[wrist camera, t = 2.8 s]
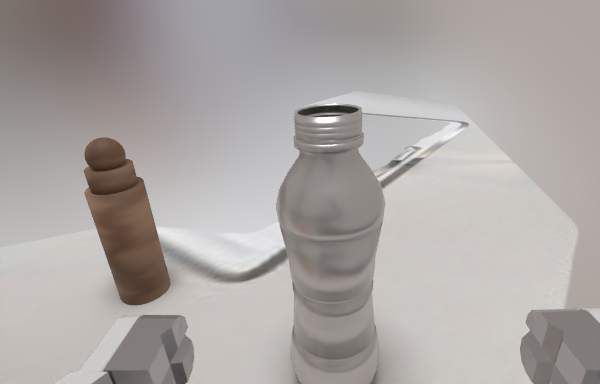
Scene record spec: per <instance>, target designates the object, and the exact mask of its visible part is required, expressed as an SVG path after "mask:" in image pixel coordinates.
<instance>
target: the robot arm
mask: <svg viewBox="0 0 600 384" xmlns="http://www.w3.org/2000/svg"><path fill="white" fill-rule="evenodd" d="M526 324H527V326H528V327H529V329H530V330H531V331H530V332H528V333H527V334H526V335H525V336H524V337H523V338H522V341H521V346H520V352H521V359H522V363H523V366H524V368H525V371H526V373H527V375H528V376H529V378H530V380H531V381H532V383H534V384H600V308H587V309H586V308H584V309H551V310H532V311H531V312H530V313H529V314H528V316H527V320H526ZM187 328H188V326H187V323H186V320H185V317H183V316H180V315H143V316H137V315H124V316H122V317H120V318H119V319H118V320H117V321H116V322H115V323H114V325H113V326H112V327H111V329H110V330H109V332H108V333H107V334H106V336H105V337H104V338H103V340H102V341H101V342H100V344H99V345H98V346H97V348H96V349H95V350H94V352H93V353H92V354H91V356H90V357H89V358H88V360H87V361H86V362H85V364H84V365H83V366H82V368H81V369H80V371H79V372H71V373H70V374H68V375H67V376H65V377H64V378H62V379H61V380H59V381H58V382H56V383H54V384H185V383H187V382H188V380H189V377H190V374H191V372H192V367H193V361H194V348H193V344H192V341H191V340H190V339H189V338H188V337H187V336H186V335H185V333H186V330H187Z"/></svg>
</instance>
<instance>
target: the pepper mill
mask: <svg viewBox="0 0 600 384" xmlns="http://www.w3.org/2000/svg"><path fill="white" fill-rule="evenodd" d="M85 160H86V162H87V164H88V165H89V167H87V168H86V169H85V170H84V173H85V176H86V179H87V182H88V185H89V188H88V189H86V191H85V196H86V199H87V202H88V205H89V208H90V210H91V214H92V217H93V219H94V222H95V225H96V228H97V231H98V234H99V237H100V240H101V243H102V246H103V249H104V251H105V254H106V257H107V260H108V263H109V266H110V269H111V272H112V275H113V277H114V280H115V283H116V286H117V289H118V292H119V295H120V298H121V300H122V301H123V302H124V303H126V304H129V305H140V304H145V303H148V302H151V301H153V300H155V299H157V298H158V297H160V296H161V295H163V294H164V293H165V292H166V291H167V289H168V288H169V286H170V279H169V275H168V272H167V268H166V264H165V260H164V256H163V253H162V249H161V245H160V241H159V238H158V234H157V230H156V226H155V223H154V219H153V215H152V211H151V208H150V204H149V200H148V196H147V192H146V189H145V185H144V181H143V179H142V178H140V177H136V173H135V169H134V166H133V162H132V161H131V160H129V159H125V151H124V149H123V147H122V146H121V145H120V144H119V143H118V142H117V141H115V140H113V139H110V138H98V139H95V140H93V141H92V142H90V143H89V144H88V146H87V147H86V150H85Z"/></svg>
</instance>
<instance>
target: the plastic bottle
mask: <svg viewBox="0 0 600 384" xmlns="http://www.w3.org/2000/svg"><path fill="white" fill-rule="evenodd" d="M361 110H362V109H361V108H360V107H359V106H355V105H349V104H323V105H314V106H308V107H304V108H300V109H298V110H296V111H295V116H294V120H295V136H294V146H295V148H296V149H298V150H300V154H299V157H298V158H297V160H296V161H295V163H294V164H293V166H292V167H291V169H290V170H289V172H288V173H287V175H286V178H285V179H284V181H283V183H282V185H281V187H280V189H279V193H278V198H277V203H276V209H277V215H278V221H279V223H280V228H281V232H282V236H283V239H284V243H285V247H286V251H287V255H288V258H289V264H290V270H291V277H292V281H293V290H294V326H293V331H292V337H291V360H292V363H293V367H294V370H295V372H296V375H297V378H298V380H299V381H300V383H301V384H371V382H372V381H373V378H374V376H375V373H376V369H377V366H378V362H379V356H380V352H379V343H378V335H377V331H376V327H375V324H374V313H373V299H372V289H373V276H374V267H375V256H376V251H377V246H378V241H379V236H380V231H381V226H382V221H383V217H384V208H385V200H384V196H383V192H382V188H381V185H380V183H379V181H378V180H377V178H376V176H375V175H374V173H373V171H372V170H371V168H370V167H369V166H368V165H367V163H366V162H365V160H364V159H363V158H362V157H361V155H360V154H359V151H358V147H360V146H362V144H363V143H364V142H363V141H364V139H363V138H364V134H363V132H362V112H361Z"/></svg>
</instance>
